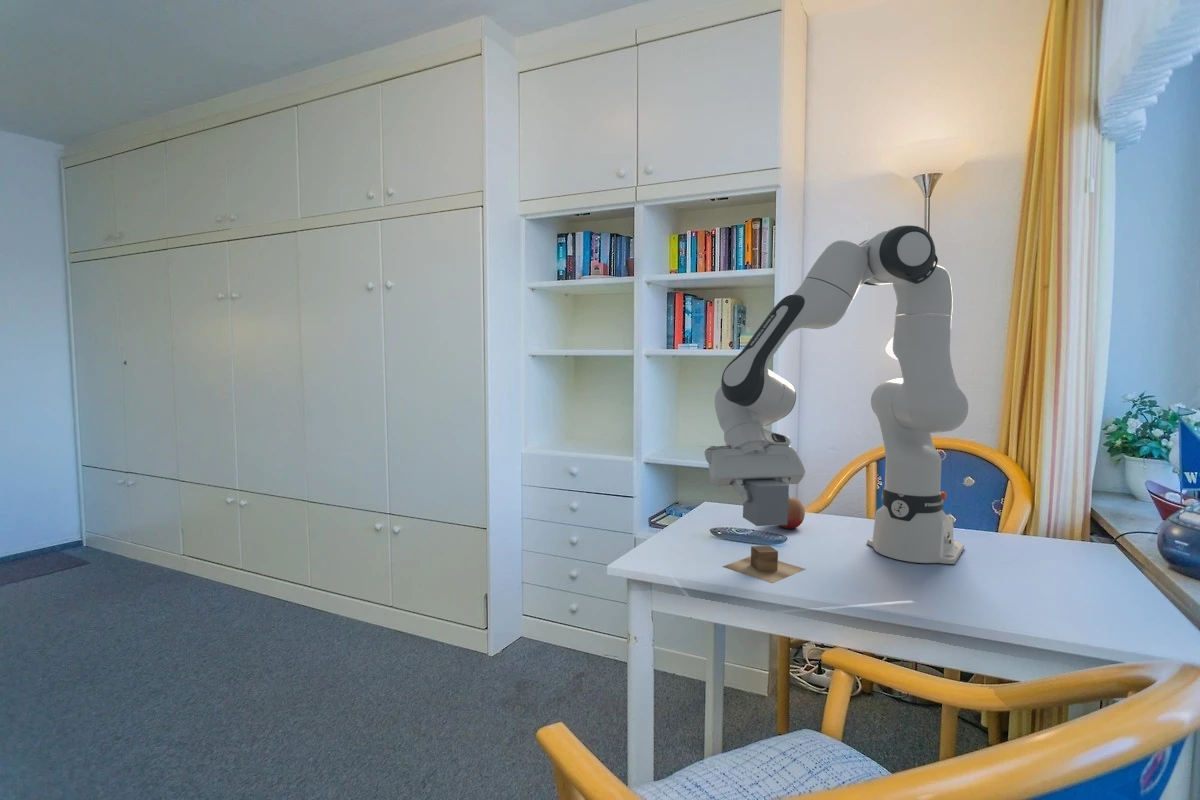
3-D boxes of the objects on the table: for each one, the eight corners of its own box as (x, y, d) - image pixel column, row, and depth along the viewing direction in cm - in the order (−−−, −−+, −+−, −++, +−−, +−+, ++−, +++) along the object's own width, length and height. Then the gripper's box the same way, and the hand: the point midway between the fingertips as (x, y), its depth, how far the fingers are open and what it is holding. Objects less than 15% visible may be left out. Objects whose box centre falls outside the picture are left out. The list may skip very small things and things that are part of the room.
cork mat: (756, 556, 137) (756, 554, 137) (805, 570, 128) (805, 568, 128) (722, 568, 129) (722, 566, 129) (772, 585, 120) (772, 583, 120)
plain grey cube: (742, 517, 130) (744, 479, 130) (772, 516, 132) (773, 478, 131) (756, 526, 124) (758, 486, 123) (787, 524, 125) (788, 485, 125)
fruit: (796, 523, 164) (797, 493, 163) (808, 532, 156) (809, 500, 155) (766, 523, 163) (767, 493, 163) (777, 532, 155) (778, 500, 155)
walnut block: (750, 565, 130) (751, 546, 130) (768, 563, 131) (768, 545, 131) (759, 571, 126) (759, 552, 126) (777, 570, 127) (778, 551, 127)
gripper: (706, 437, 131) (723, 494, 122) (795, 436, 135) (818, 490, 126) (698, 455, 136) (714, 510, 127) (785, 453, 140) (805, 506, 131)
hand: (766, 500), depth 127 cm, fingers closed on plain grey cube, 7 cm apart
